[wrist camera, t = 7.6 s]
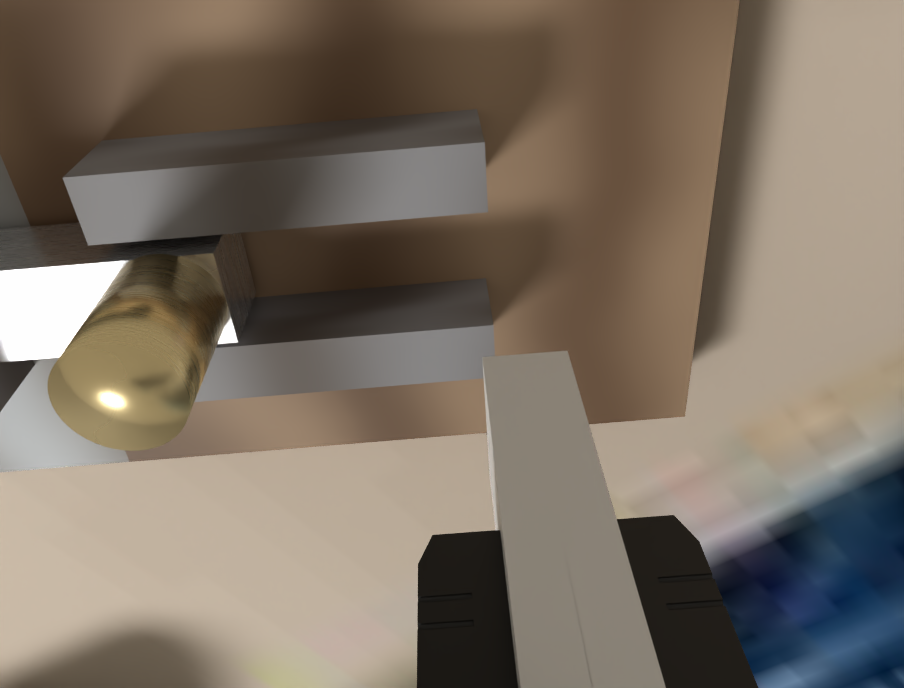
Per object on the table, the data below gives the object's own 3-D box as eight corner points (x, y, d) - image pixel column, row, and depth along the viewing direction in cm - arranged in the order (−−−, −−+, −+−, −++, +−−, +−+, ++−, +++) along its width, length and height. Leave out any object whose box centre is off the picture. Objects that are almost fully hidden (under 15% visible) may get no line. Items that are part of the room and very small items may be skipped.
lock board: (720, -108, 17) (912, -79, 11) (667, 378, 25) (757, 571, 18) (-478, -5, 17) (-1029, 87, 11) (-161, 446, 25) (-368, 661, 19)
